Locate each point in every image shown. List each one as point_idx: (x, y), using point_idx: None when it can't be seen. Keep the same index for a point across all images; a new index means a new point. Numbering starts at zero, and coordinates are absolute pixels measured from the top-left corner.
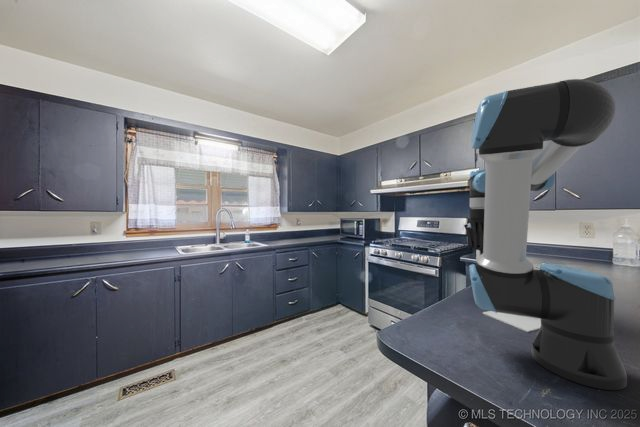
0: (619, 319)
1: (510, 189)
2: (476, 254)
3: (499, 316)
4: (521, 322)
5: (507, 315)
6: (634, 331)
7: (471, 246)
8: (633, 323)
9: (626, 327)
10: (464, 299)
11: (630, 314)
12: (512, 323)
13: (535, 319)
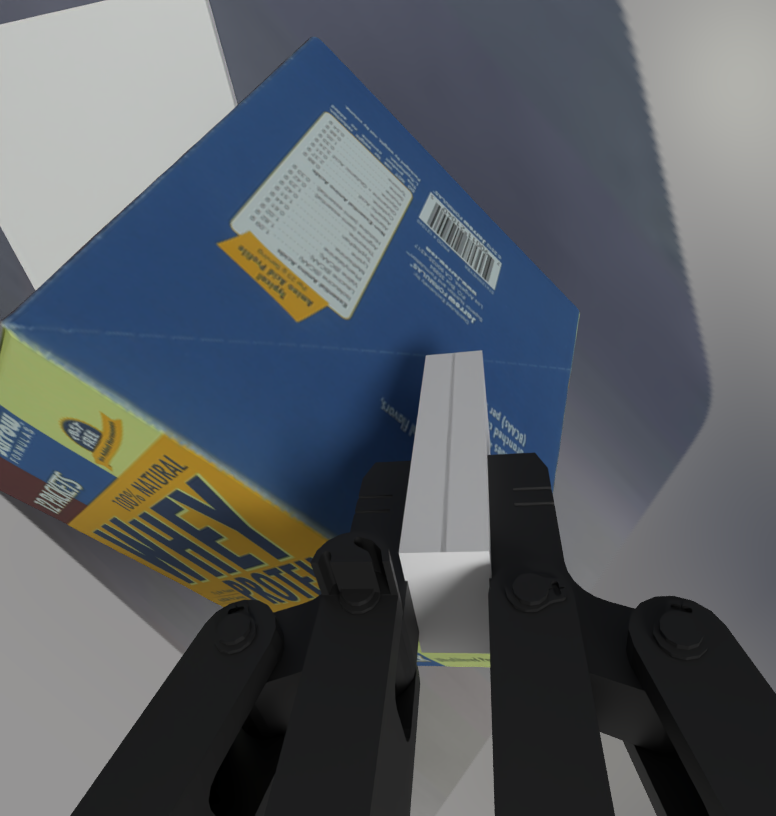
0: (150, 596)
1: None
2: (478, 472)
3: (127, 70)
4: (40, 143)
5: (149, 156)
6: (46, 534)
7: (657, 618)
8: (117, 596)
9: (78, 547)
10: (526, 107)
11: None
12: (8, 51)
13: None
